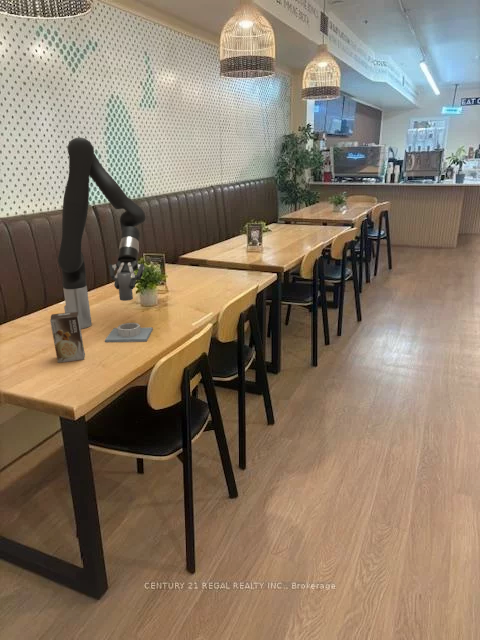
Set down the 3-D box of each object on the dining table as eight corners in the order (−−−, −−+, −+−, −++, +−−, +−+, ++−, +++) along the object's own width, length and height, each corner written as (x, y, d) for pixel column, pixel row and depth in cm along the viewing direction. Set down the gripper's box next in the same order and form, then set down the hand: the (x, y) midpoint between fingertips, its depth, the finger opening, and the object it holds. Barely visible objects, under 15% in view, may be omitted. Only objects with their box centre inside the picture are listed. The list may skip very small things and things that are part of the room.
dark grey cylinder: (118, 300, 177) (115, 275, 173) (121, 297, 181) (119, 272, 178) (131, 300, 177) (128, 275, 173) (134, 296, 181) (131, 272, 178)
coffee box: (85, 353, 168) (79, 311, 163) (84, 359, 162) (78, 316, 157) (58, 356, 166) (51, 313, 161) (56, 363, 160) (49, 319, 155)
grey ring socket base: (105, 342, 178) (103, 332, 176) (114, 330, 190) (112, 321, 189) (146, 341, 178) (145, 331, 176) (152, 329, 190) (151, 320, 189)
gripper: (108, 245, 180) (102, 283, 173) (144, 245, 180) (141, 283, 173) (113, 256, 187) (108, 293, 180) (148, 256, 187) (145, 292, 179)
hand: (124, 288), depth 176 cm, fingers closed on dark grey cylinder, 5 cm apart
